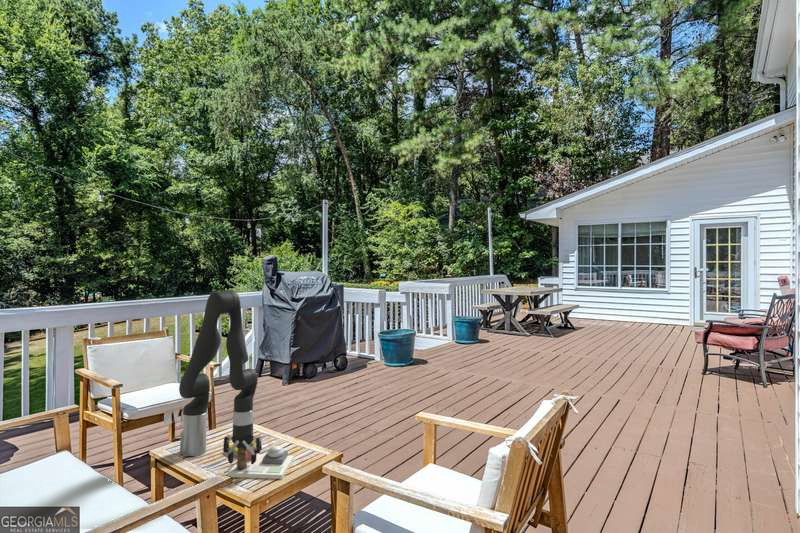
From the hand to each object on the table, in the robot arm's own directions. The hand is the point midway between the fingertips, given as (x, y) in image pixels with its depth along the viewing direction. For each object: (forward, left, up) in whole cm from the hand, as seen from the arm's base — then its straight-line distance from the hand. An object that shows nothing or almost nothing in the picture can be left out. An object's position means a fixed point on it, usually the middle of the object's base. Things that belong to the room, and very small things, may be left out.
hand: (242, 463), depth 171 cm
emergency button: (-7, +19, -4) cm, 21 cm away
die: (-1, +9, -2) cm, 9 cm away
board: (+6, +5, -4) cm, 9 cm away
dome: (+10, +9, -2) cm, 14 cm away
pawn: (0, 0, -2) cm, 2 cm away
